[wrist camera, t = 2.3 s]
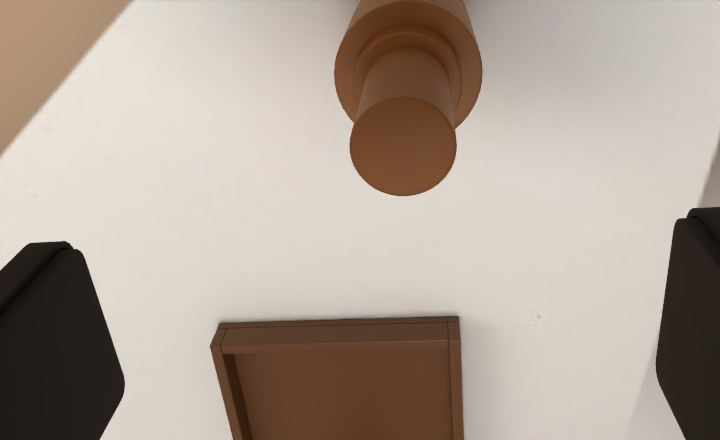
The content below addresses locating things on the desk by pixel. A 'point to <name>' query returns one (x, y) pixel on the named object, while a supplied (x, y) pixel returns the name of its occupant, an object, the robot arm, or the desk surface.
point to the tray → (342, 379)
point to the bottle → (407, 89)
